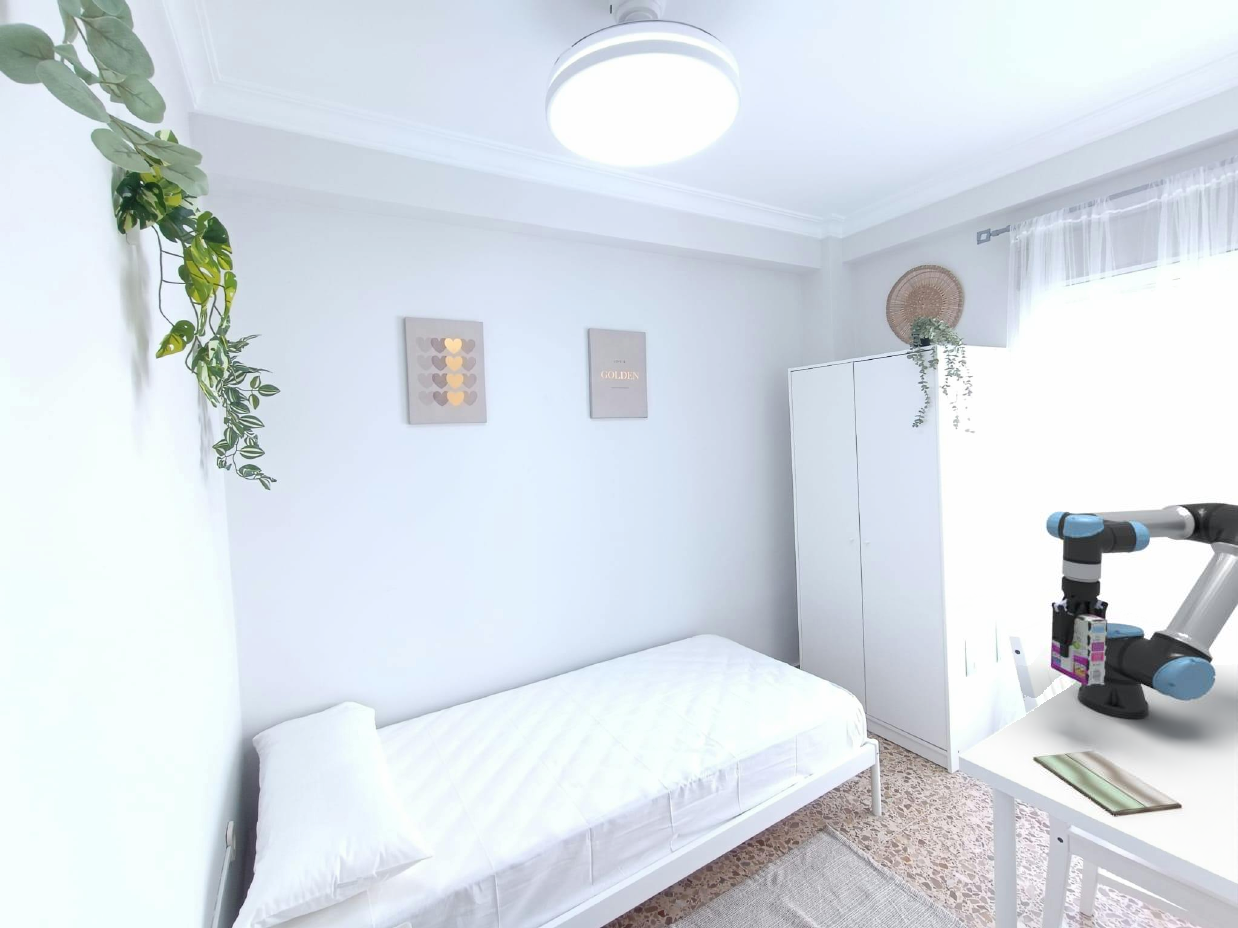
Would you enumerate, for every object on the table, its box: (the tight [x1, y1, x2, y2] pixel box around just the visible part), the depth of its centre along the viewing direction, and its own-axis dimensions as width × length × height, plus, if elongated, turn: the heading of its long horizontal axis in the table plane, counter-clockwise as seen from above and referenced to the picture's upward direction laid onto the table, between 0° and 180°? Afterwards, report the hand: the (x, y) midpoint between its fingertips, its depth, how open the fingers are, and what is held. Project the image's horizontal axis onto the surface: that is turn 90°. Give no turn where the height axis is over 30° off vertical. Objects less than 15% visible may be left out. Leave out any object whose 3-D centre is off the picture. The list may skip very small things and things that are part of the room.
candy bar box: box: [1050, 612, 1108, 686], centre depth 145 cm, size 11×5×16 cm, turn 5°
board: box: [1033, 750, 1183, 817], centre depth 131 cm, size 16×20×1 cm
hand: (1077, 668), depth 146 cm, fingers closed on candy bar box, 5 cm apart
